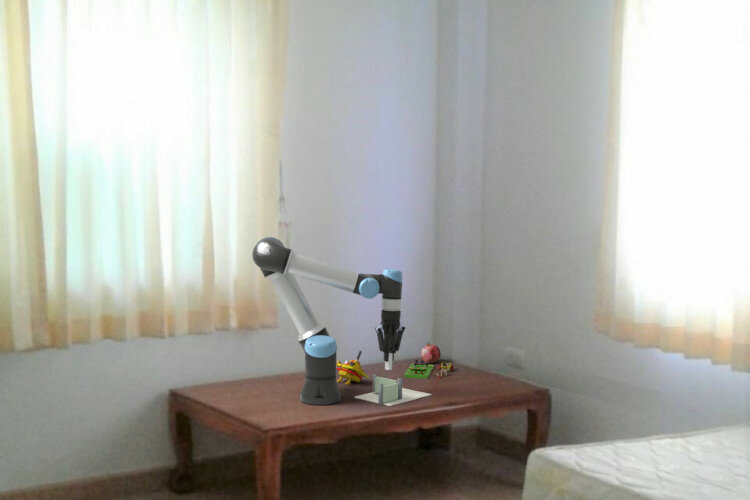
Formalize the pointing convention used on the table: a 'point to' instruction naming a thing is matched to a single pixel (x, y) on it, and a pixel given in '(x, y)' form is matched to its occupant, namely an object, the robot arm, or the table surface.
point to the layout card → (406, 396)
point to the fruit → (430, 353)
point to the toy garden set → (426, 369)
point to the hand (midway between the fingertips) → (388, 369)
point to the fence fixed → (390, 391)
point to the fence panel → (381, 382)
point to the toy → (351, 370)
